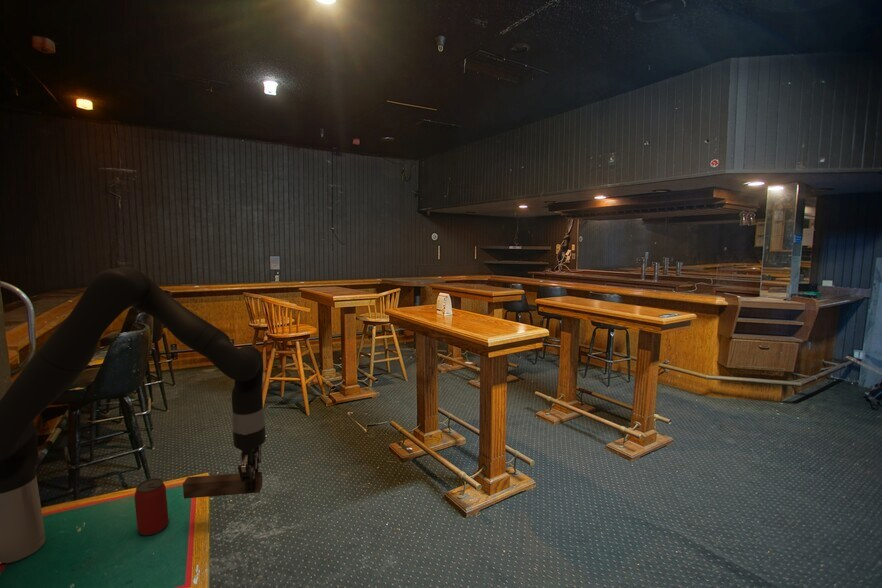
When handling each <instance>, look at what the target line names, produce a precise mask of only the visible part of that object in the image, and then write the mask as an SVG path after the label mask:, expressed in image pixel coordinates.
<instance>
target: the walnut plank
mask: <svg viewBox="0 0 882 588" xmlns="http://www.w3.org/2000/svg"><path fill="white" fill-rule="evenodd" d="M263 485H264V484H263V471H259V472H255V492H251V493H247V492H246V487H245V482H242V481H241V478H240V474H239V472H238V473H227V474H212V475H211V474H210V475H198V476H188V477H186V478H185V480H184V481H183V483H182V490H183V491H182V492H183V499H184V500H185V499H195V498H196V499H197V498H208V497H210V498H211V497H221V496H232V495H233V496H236V495H248V494H260V493H261V490H262V488H263Z"/></svg>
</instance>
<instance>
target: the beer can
mask: <svg viewBox="0 0 882 588" xmlns="http://www.w3.org/2000/svg"><path fill="white" fill-rule="evenodd" d="M166 487H167V486H166V485H165V483H164V481H163V479H161V478H158V477H152V478H148V479H146V480H143V481H142V482H140V483H139V484H138V485H137V486H136V487H135V491H134V497H133V498H134V507H135V508H134V509H135V517H136V518H135V519H136V527H137V532H138V533H139V534H140V535H142V536H150V535H154V534H157V533H159V532H161V531H162V530H164V529H165V528H166V527H167V526H168V524H169V521H170V520H169V511H168V510H169V509H168V498H167V497H168V496H167V488H166Z"/></svg>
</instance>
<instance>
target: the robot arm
mask: <svg viewBox="0 0 882 588" xmlns="http://www.w3.org/2000/svg"><path fill="white" fill-rule="evenodd" d="M131 307H132V308H135V309H136V310H140V311H142V312H143V313H145V314H148V315H150V316H151V317H152V318H153V319H155V320H156V321H158V322H160V323H161V324H162V326H164V327H165V328H166V329H167V330H168V331H169V332H170V333H171V334H172V335H173V336H174V337H175V339H176V340H178V341H180V343H182V345H185V346H187V348H189V349H191V350H192V351H194V352H195V353H197V354H199V355H201V356H203V357H204V358H206V359H208V360H209V361H210V362H211V364H213V366H215V367H216V368H217V369H218V370H219V371H220V372H221V373H223V374H224V375H225V376H226V377H228V378H230V380H231V379H232V380H234V386H233V389H232V393H231V409H232V417H231V422H232V423H231V426H232V441H233V442H232V444H233V447H235V448H236V449H237V450H240V451H241V452H240V454H239V455H240V456H239V457H240V458H239V459H240V461H241V464H239V465H238V466H237V471H238V473H239V474H240V478H241V481H242V482H245V487H246V492H247V493H249V494H252V493H251V492H255V472H260V464H261V463H262V446H263V444H264V443H265V442H266V437H267V435H266V418H265V417H266V416H265V410H264V401H263V400H264V399H263V389H262V387H263V385H262V384H263V378H264V377H263V376H264V375H263V374H264V358H263V355H262V353H261V351H260V350H259V349H258V348H257V347H255V346H252V345H244V346H242V347H240V348H239V347H237V346H236V345H235V344H233V343H232V342H231V341H230V339H231V338H230V336H229V335H228V334H227V333H225V332H224V331H223V330H221V329H219V328H218V327H217V326H215V325H213V324H212V323H210V322H208V321H206V320H205V319H204V318H202V317H200V316H198V315H197V314H196V313H194V312H192V311H191V310H190V309H188V308H187V307H185V305H182V304H181V303H180V302H178V300H176V299H175V298H173V297H172V296H171V295H170V294H169V293H167V292H166V291H165V290H163V289H162V288H161V287H160V286H159V285H158V284H157V283H156V282H154V281H153V280H152V279H151V278H150V277H149V276H147V275H146V274H145V273H144V272H143V271H141V270H139V269H137V268H134V267H132V266H131V267H130V266H121V267H116V268H109V269H105V270H103V271H100V272H99V273H98V274H96V275H95V276H94V277H93V278H92V280H91V281H90V283H89V284H88V285H87V287H86V289H85V290H84V291H83V293H82V295H81V297H80V298H79V299H78V301H77V303H76V305H75V306H74V307H73V310H71V312H69V315H68V316H67V317H65V319H64V320H63V321H62V322H61V323H60V324H59V326H58V327H57V328H56V329H55V330H54V332H52V334H51V335H50V336H49V338H48V339H47V340H46V341H44V343H43V344H42V345H41V346H40V347H39V349H38V350H37V351H36V353H34V355H33V356H32V357H31V358H30V360H29V361H27V364H26V365H25V366H24V368H23V369H22V370H21V371H20V372H19V374H18V376H17V377H16V378H15V379H14V381H13V382H12V383H11V385H10V386H9V387H8V389H7V390H6V392H4V395H3V396H2V397H1V398H0V562H1V563H6V564H11V563H14V562H17V561H20V560H23V559H25V558H27V557H29V556H31V555H32V554H34V553H36V552H37V551H38V550H39V549H41V548H42V547H43V546H44V545H45V543H46V533H45V525H44V518H43V512H42V511H43V510H42V505H41V499H40V493H39V485H38V478H37V470H36V469H37V467H38V466H37V465H38V462H39V458H40V457H39V445H38V442H39V441H38V434H37V433H38V432H37V428H36V425H35V422H34V421H35V420H36V418H37V417H38V416H39V415H40V414H41V413H42V412H43V411H45V410H46V408H48V407H49V406H50V405H52V404H53V403H54V402H55V401H56V400H57V399H58V398H59V397H61V395H63V393H65V391H67V389H69V388H70V387H71V386H72V384H73V383H74V382H75V381H76V380H77V379H78V378H79V377H80V376H81V374H82V373H83V372H84V370H85V369H86V368H87V367H88V366H89V364H90V363H91V361H92V359H93V358H94V356H95V353H96V350H97V349H98V345H99V342H100V340H101V338H102V336H103V334H104V333H105V331H106V330H107V329H108V328H109V327H110V326H111V324H113V322H114V321H115V320H117V318H118V317H119V316H121V314H122V313H123V312H125V311H126V310H127V309H129V308H131ZM6 564H5V565H6Z"/></svg>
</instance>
